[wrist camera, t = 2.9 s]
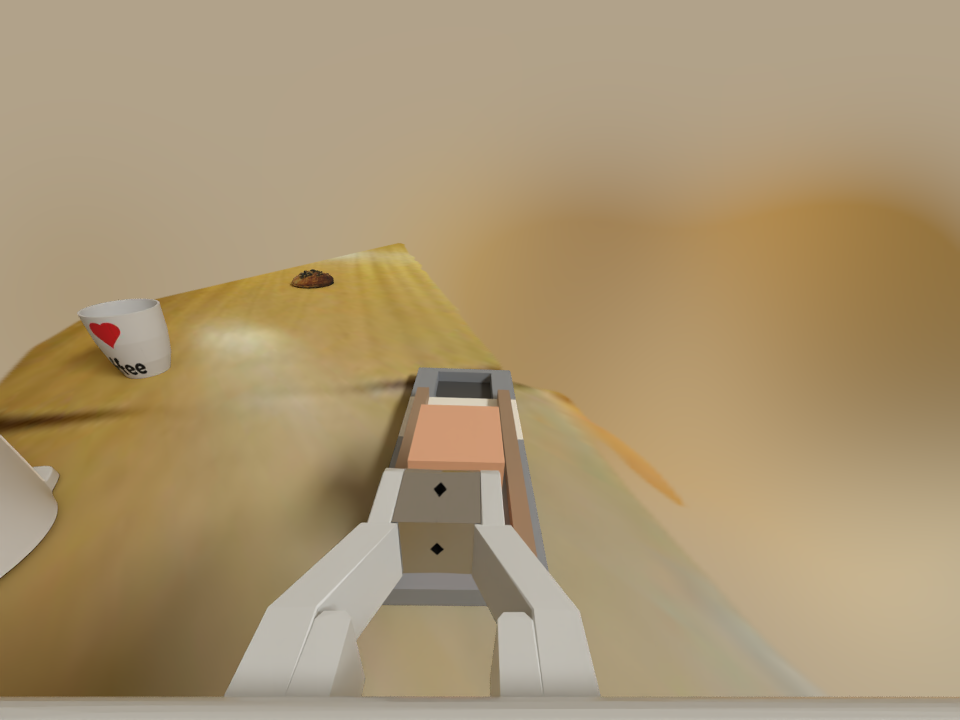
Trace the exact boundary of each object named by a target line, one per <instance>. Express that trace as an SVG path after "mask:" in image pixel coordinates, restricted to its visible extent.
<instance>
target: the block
mask: <svg viewBox="0 0 960 720" xmlns="http://www.w3.org/2000/svg"><path fill="white" fill-rule="evenodd" d="M407 461H408V469H429V470H498V471H499V472H500V477H501V487H502V485H503V476H504V466H505V460H504V451H503V441H502V432H501V423H500V414H499V407H494V406H460V405H427V404H421V407H420V411H419V416H418V420H417V424H416V428H415V432H414V436H413V440H412V444H411V448H410V452H409V456H408V460H407Z"/></svg>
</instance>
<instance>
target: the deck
mask: <svg viewBox="0 0 960 720" xmlns="http://www.w3.org/2000/svg"><path fill="white" fill-rule="evenodd" d="M421 404H427V405H460V406H494V407H499V414H500V423H501V432H502V441H503V451H504V460H505V466H504V476H503V485H502V498H503V509H504V520H505V525H511V526H512V527H513V528H514V530H515V531H516V532H517V533H518V535H519V536H520V537H521V538H522V540H523V541H524V542H525V543H526V545H527V546H528V547H529V548H530V550H531V551H532V552H533V553H534V555H535V556H536V557H537V558H538V560H539V561H540V562H541V563H542V565H543V566H544V567H545V568H546V570H547V571H548V566H547V561H546V556H545V551H544V545H543V540H542V535H541V530H540V524H539V519H538V514H537V509H536V504H535V498H534V493H533V488H532V483H531V477H530V472H529V467H528V462H527V457H526V451H525V446H524V441H523V436H522V430H521V425H520V420H519V415H518V410H517V404H516V399H515V394H514V389H513V384H512V378H511V373H510V371H507V370H477V369H447V368H419V370H418V374H417V377H416V380H415V383H414V387H413V390H412V393H411V396H410V400H409V403H408V406H407V410H406V413H405V416H404V419H403V423H402V426H401V429H400V432H399V436H398V439H397V442H396V446H395V449H394V452H393V455H392V459H391V462H390V465H389V468H400V469H406V468H408V461H407V460H408V456H409V452H410V448H411V444H412V440H413V436H414V432H415V428H416V424H417V420H418V416H419V411H420V407H421ZM548 572H549V571H548ZM382 605H453V606H487V604H486V602H485V600H484V598H483V597H482V595H481V593H480V591H479V589H478V587H477V585H476V583H475V581H474V579H473V577H472V574H456V573H438V572H437V573H402V577H401V579H400V580H399V581H398V583H397V584H396V586H395V587H394V588H393V590H392V591H391V593H390V594H389V595H388V597H387V598H386V600H385V601H384V602H383V604H382Z"/></svg>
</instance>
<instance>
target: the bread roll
mask: <svg viewBox="0 0 960 720" xmlns="http://www.w3.org/2000/svg"><path fill="white" fill-rule="evenodd" d="M333 281H334V280H333V277H332V276H330V275H329V274H328V273H326V274H325V273H322V271H321V272H320V271H318V270H317V271H316V270H313V269H312V270H310V271H304V272H303V273H300V274H299V275H298V276H296V277H295V278H294V279H293V281H292V282H291V284H293V285H294V286H295V287H298V288H316V287H326V286H329V285H331V284H333V283H334V282H333Z"/></svg>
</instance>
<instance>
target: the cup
mask: <svg viewBox="0 0 960 720" xmlns="http://www.w3.org/2000/svg"><path fill="white" fill-rule="evenodd" d="M77 314H78V316H79V317H80V319H81V321H82V322H83V324H84V325H85V327H86V329H87V330H88V332H89V334H90V335H91V337H92V338H93V340H94V342H95V343H96V344H97V346H98V347H99V348H100V349H101V350H102V352H103V353H104V354H105V355H106V357H107V358H108V359H109V360H110V362H111V363H112V364H113V365H114V366H115V367H117V368H118V369H119V370H120V371H121V372H122V373H123V374H124V375H125V376H127V377H128V378H133V379H138V378H146V377H151V376H155V375H158V374H160V373H163V372H165V371H167V370H168V369H169V368H170V366H171V347H170V341H169V335H168V329H167V326H166V323H165V319H164V316H163V313H162V310H161V307H160V304H159V301H157V300H153V299H126V300H118V301H111V302H105V303H100V304H96V305H92V306H89V307H86V308H84V309H81V310H80V311H78V313H77Z"/></svg>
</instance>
